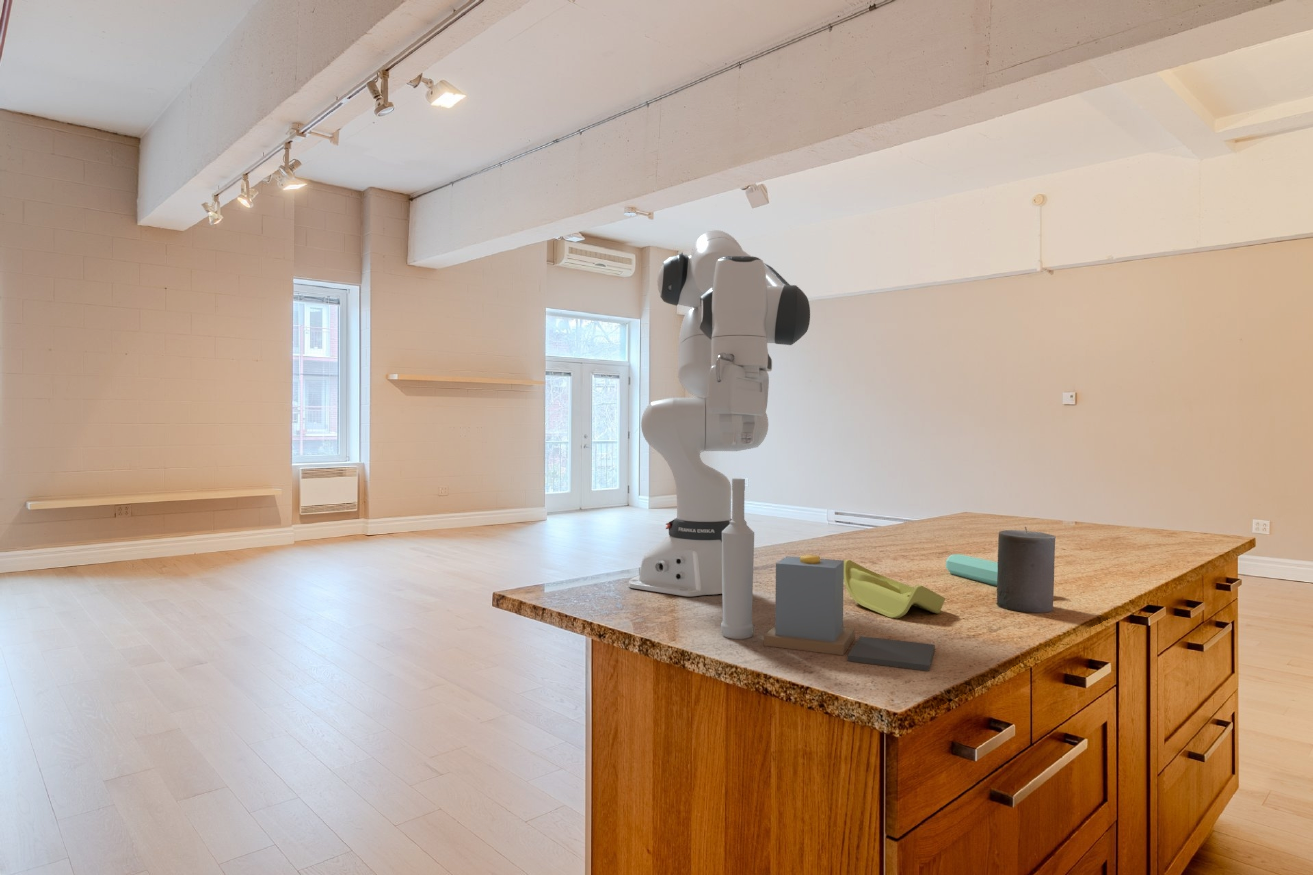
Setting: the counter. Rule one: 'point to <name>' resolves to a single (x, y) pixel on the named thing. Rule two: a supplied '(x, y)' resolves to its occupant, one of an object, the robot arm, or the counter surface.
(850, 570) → the plastic component
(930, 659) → the pad
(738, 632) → the bottle
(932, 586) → the counter surface
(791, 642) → the mounted unit
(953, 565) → the mint green rod
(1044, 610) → the pillar candle
